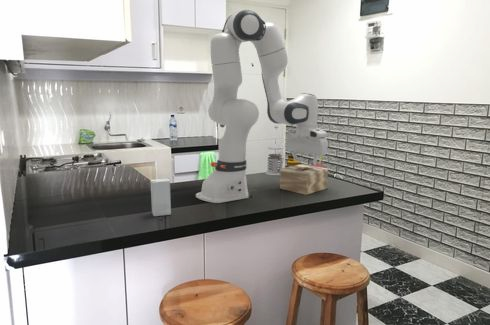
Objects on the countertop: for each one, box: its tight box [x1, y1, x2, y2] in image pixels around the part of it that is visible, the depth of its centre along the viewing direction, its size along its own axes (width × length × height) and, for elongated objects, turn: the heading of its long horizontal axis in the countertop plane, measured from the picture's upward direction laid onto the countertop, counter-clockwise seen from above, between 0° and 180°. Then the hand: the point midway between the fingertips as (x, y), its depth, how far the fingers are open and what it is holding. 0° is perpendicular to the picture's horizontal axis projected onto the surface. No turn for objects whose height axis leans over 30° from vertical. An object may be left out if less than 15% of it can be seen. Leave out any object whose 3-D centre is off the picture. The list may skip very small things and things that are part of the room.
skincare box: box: [149, 178, 172, 217], centre depth 125 cm, size 6×4×12 cm
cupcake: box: [310, 155, 327, 168], centre depth 187 cm, size 9×8×12 cm
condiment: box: [286, 154, 300, 167], centre depth 182 cm, size 7×8×12 cm
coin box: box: [279, 163, 329, 196], centre depth 164 cm, size 16×14×9 cm
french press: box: [265, 125, 284, 176], centre depth 191 cm, size 10×12×25 cm
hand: (304, 162), depth 162 cm, fingers open, 8 cm apart
